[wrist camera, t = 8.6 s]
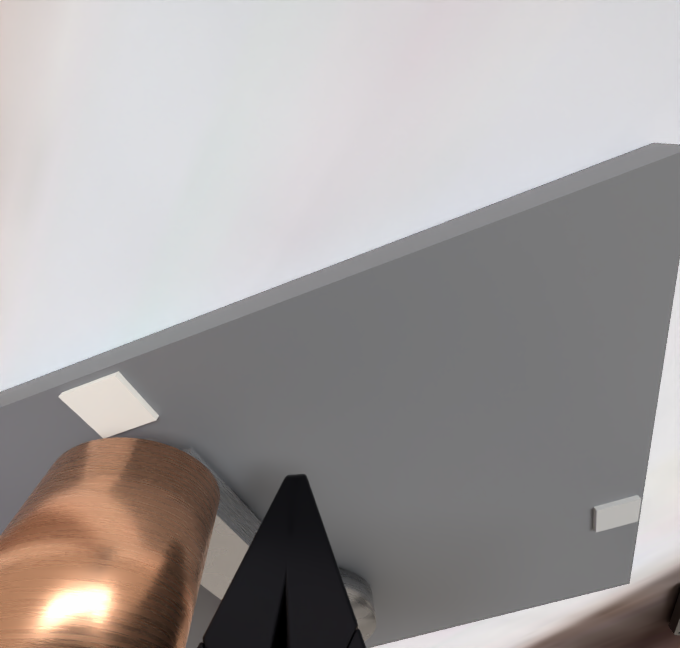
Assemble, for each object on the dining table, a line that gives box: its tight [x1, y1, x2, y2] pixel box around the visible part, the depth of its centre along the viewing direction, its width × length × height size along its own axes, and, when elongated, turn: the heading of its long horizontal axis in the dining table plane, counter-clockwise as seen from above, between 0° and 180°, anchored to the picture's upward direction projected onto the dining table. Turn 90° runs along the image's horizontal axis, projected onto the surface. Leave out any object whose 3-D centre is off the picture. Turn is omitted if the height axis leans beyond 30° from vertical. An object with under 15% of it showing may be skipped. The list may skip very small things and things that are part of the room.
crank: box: [0, 438, 376, 648], centre depth 10 cm, size 15×6×5 cm, turn 21°
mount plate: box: [0, 143, 680, 648], centre depth 13 cm, size 20×21×1 cm
